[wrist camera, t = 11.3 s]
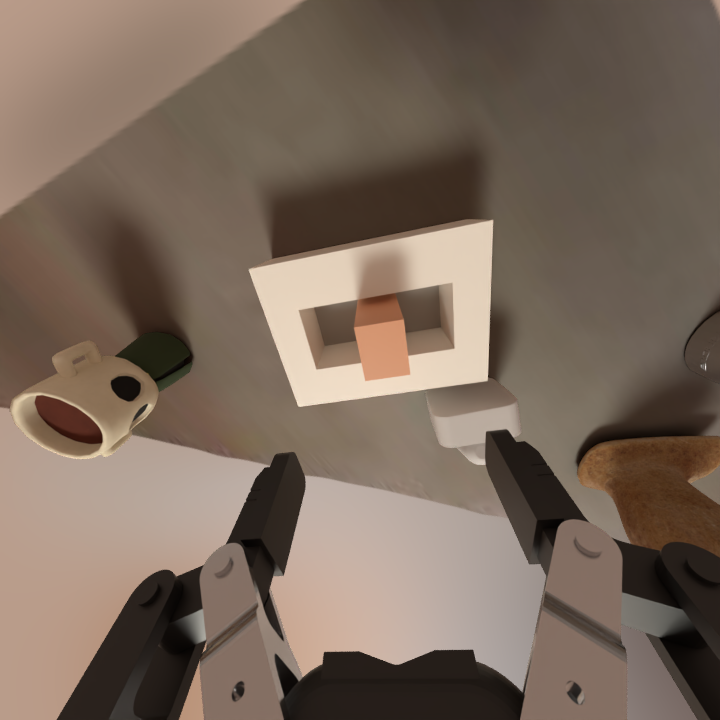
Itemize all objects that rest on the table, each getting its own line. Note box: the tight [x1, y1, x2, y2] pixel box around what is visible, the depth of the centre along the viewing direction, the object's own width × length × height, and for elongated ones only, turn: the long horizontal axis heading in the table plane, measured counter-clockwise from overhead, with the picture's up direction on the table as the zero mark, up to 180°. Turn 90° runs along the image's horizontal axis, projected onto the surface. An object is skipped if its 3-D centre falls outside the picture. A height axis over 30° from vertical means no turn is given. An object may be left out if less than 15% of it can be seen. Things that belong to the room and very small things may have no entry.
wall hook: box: [425, 378, 521, 465], centre depth 32 cm, size 8×10×10 cm
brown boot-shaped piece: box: [577, 436, 720, 557], centre depth 32 cm, size 15×12×15 cm
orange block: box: [354, 293, 410, 381], centre depth 24 cm, size 4×4×10 cm
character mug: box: [10, 332, 192, 459], centre depth 27 cm, size 11×7×13 cm, turn 175°
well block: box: [249, 219, 493, 407], centre depth 27 cm, size 19×14×6 cm
